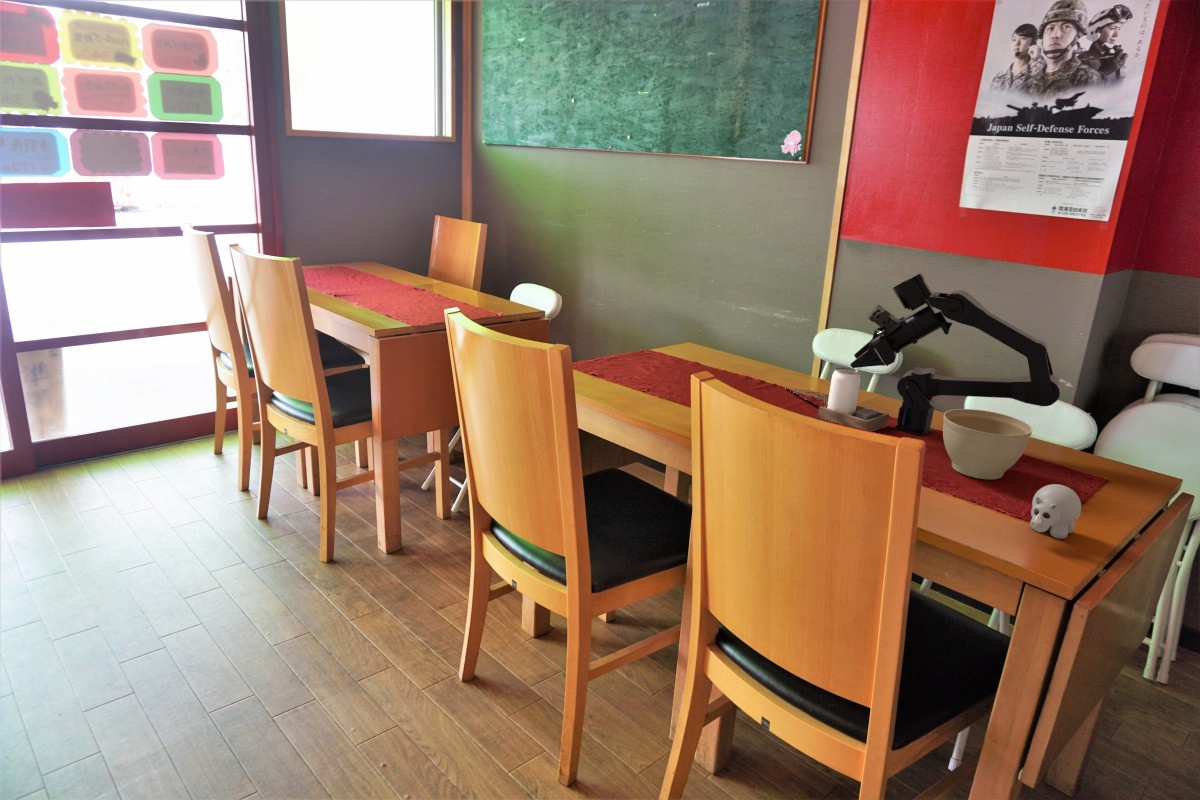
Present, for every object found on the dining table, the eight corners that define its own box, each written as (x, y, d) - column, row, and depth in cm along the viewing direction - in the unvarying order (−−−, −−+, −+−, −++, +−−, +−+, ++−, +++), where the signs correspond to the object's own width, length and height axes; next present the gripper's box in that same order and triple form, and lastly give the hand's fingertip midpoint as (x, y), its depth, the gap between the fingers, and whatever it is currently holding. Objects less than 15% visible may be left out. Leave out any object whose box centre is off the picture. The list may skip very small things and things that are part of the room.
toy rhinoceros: (1006, 536, 133) (1018, 490, 130) (1036, 518, 140) (1048, 474, 137) (1051, 553, 127) (1064, 506, 125) (1080, 534, 135) (1092, 488, 132)
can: (832, 412, 191) (839, 364, 187) (858, 419, 187) (866, 370, 184) (821, 418, 186) (828, 369, 183) (847, 425, 183) (855, 375, 179)
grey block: (879, 425, 183) (881, 411, 182) (864, 431, 179) (866, 416, 178) (865, 421, 186) (867, 407, 185) (850, 427, 181) (852, 412, 180)
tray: (887, 426, 184) (889, 413, 183) (865, 434, 177) (867, 422, 176) (839, 411, 192) (841, 399, 191) (817, 418, 186) (819, 406, 185)
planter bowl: (1022, 468, 163) (1034, 419, 159) (1017, 495, 149) (1030, 441, 146) (940, 450, 170) (950, 402, 167) (928, 474, 157) (938, 422, 154)
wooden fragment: (878, 416, 191) (879, 412, 191) (847, 422, 186) (848, 418, 185) (801, 386, 212) (802, 383, 212) (771, 391, 206) (772, 387, 206)
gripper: (898, 290, 184) (839, 324, 192) (894, 304, 168) (829, 341, 175) (923, 330, 184) (863, 362, 192) (922, 347, 168) (856, 382, 175)
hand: (853, 361), depth 184 cm, fingers open, 9 cm apart
